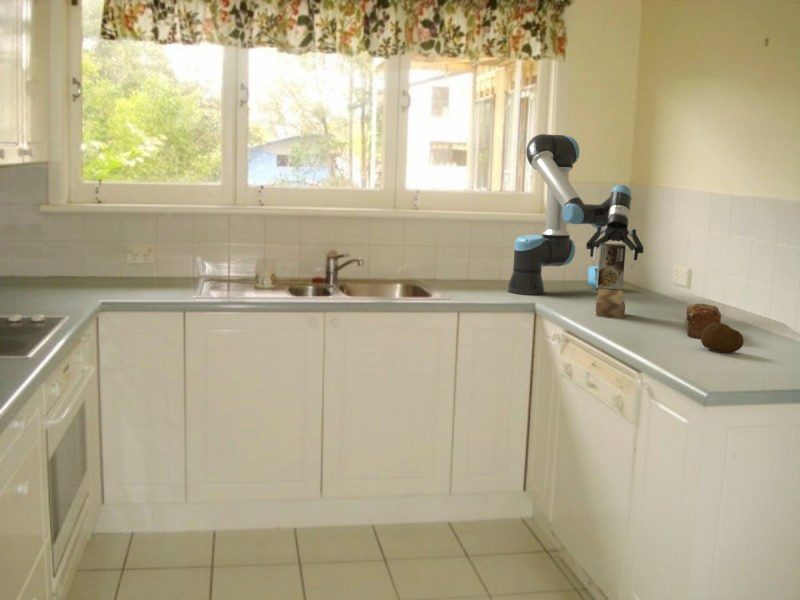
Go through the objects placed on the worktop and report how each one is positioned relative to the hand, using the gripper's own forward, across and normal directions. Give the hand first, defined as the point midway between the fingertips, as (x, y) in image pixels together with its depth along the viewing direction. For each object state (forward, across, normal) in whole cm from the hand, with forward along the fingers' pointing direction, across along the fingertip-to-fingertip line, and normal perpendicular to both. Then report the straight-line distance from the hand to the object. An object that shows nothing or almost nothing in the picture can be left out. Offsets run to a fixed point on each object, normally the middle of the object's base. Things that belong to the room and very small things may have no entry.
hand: (612, 264), depth 319 cm
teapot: (-33, -6, +59) cm, 68 cm away
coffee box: (+4, -1, +8) cm, 10 cm away
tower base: (+12, 0, +15) cm, 19 cm away
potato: (+45, +35, -18) cm, 60 cm away
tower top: (+8, 0, +12) cm, 14 cm away
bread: (+26, +31, +1) cm, 41 cm away
